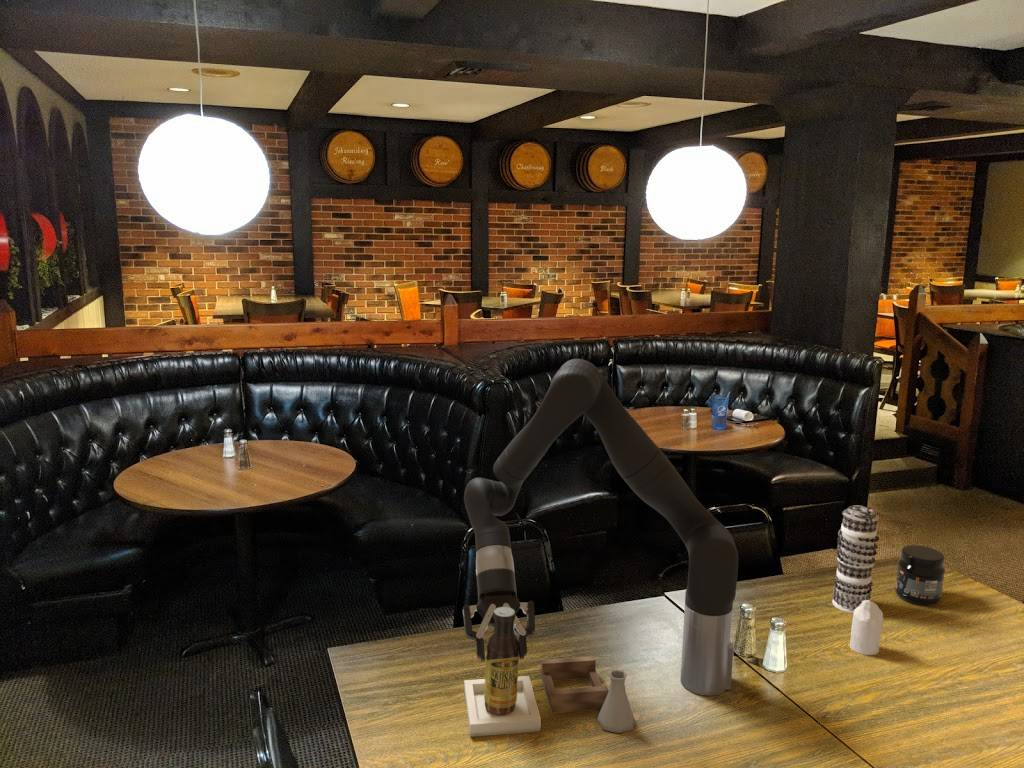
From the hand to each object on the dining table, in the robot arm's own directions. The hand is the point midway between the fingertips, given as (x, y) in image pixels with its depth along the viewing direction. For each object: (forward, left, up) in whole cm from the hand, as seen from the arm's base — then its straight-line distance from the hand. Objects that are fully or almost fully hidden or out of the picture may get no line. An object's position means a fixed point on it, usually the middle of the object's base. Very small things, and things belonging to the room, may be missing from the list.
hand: (502, 659), depth 148 cm
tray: (0, -2, -12) cm, 12 cm away
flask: (-21, +4, -12) cm, 25 cm away
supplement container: (-109, -35, -12) cm, 115 cm away
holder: (-15, -6, -12) cm, 20 cm away
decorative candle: (-90, -33, -12) cm, 96 cm away
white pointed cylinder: (-82, -14, -12) cm, 84 cm away
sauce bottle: (0, -2, -11) cm, 11 cm away
